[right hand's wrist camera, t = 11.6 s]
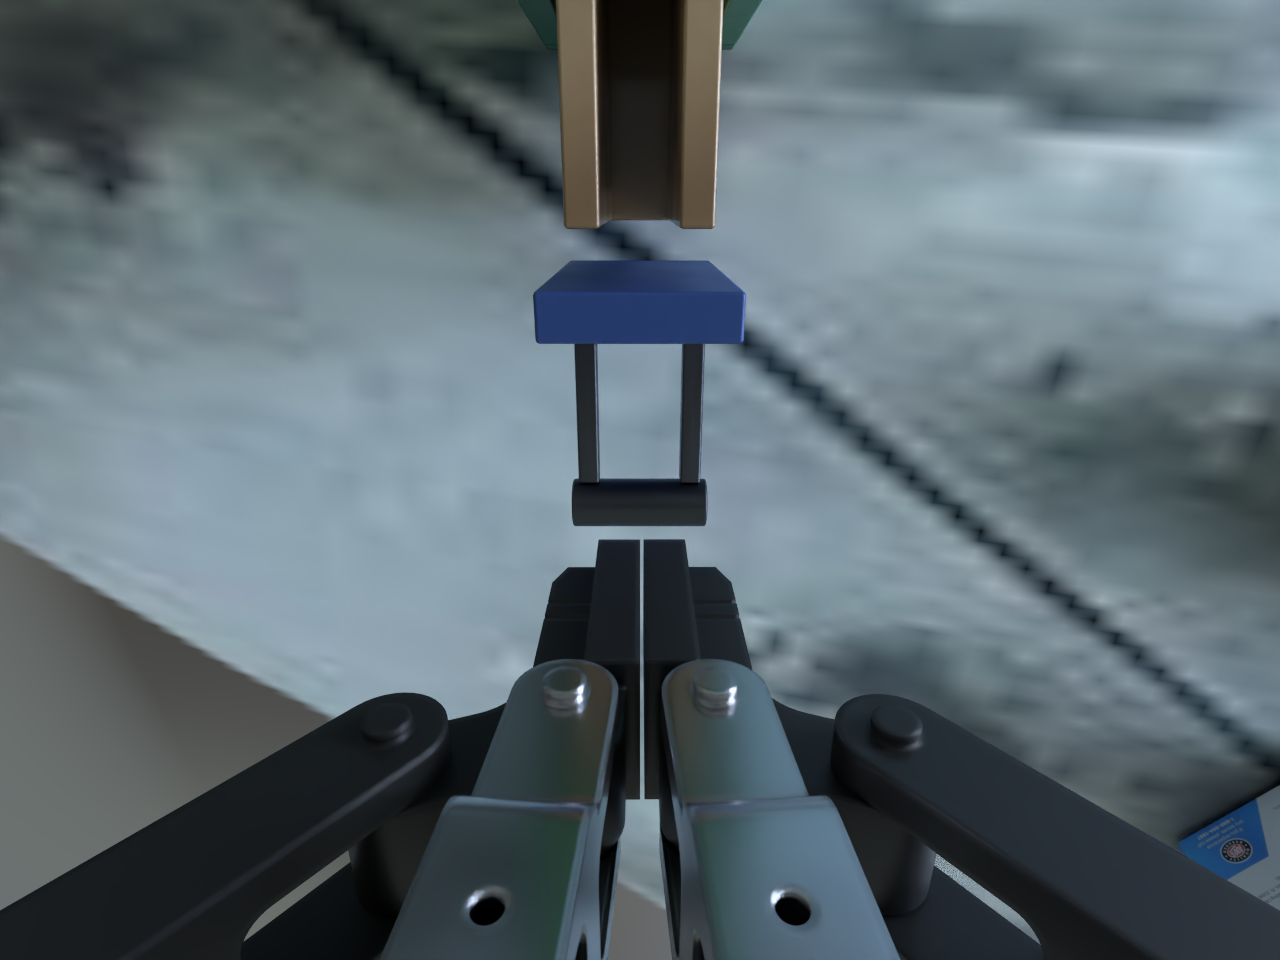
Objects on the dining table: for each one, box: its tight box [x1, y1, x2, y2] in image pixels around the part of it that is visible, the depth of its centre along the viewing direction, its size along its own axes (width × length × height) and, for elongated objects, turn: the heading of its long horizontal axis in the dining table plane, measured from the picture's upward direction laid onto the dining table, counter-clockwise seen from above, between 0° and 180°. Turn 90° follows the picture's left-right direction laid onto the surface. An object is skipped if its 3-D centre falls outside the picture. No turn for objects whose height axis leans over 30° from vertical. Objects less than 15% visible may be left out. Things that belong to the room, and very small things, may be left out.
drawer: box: [533, 0, 746, 526], centre depth 18 cm, size 25×5×9 cm, turn 0°
